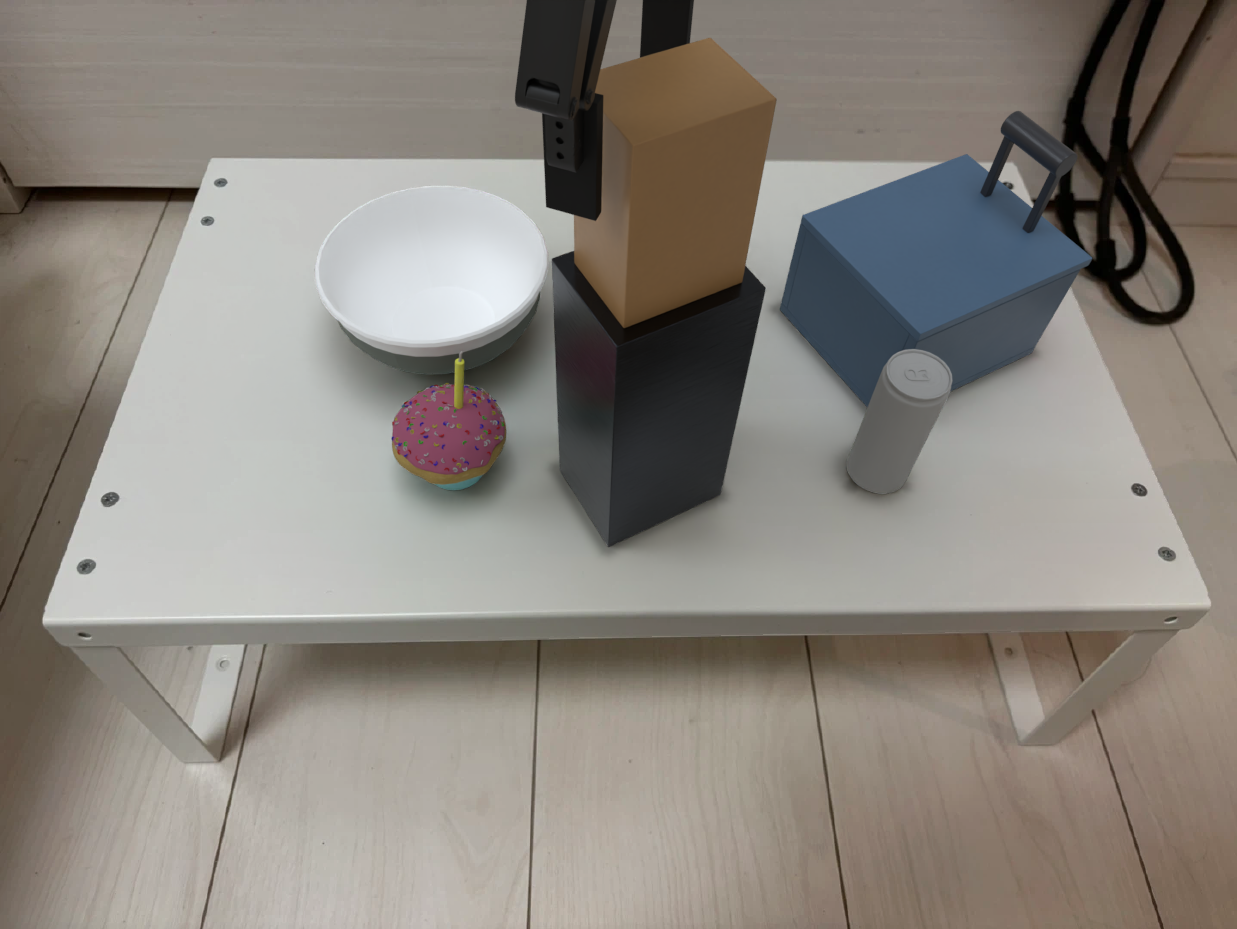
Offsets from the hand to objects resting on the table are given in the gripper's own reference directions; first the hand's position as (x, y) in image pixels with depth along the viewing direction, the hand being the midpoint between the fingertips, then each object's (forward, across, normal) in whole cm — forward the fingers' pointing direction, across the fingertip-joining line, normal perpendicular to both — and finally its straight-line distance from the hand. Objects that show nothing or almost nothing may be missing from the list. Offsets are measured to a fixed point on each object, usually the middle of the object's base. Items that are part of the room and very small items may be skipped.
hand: (621, 134), depth 50 cm
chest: (+29, -22, +20) cm, 41 cm away
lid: (+19, -22, +20) cm, 36 cm away
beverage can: (+29, -6, +20) cm, 36 cm away
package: (+7, +2, +3) cm, 8 cm away
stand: (+29, +2, +3) cm, 29 cm away
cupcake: (+29, +6, -11) cm, 32 cm away
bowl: (+29, -7, -18) cm, 35 cm away
